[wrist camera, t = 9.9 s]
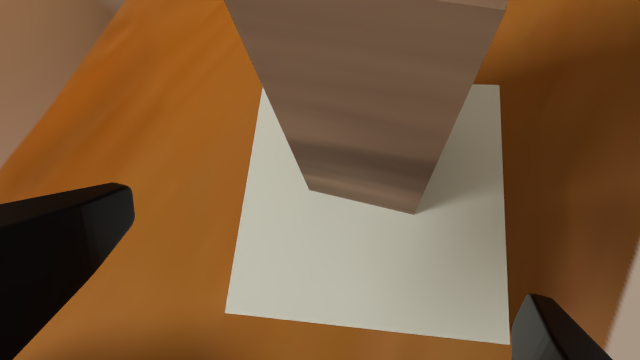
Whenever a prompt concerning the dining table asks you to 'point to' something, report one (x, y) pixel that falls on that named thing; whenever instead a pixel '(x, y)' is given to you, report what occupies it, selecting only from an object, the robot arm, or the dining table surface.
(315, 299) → the sage base
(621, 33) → the dining table surface
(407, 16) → the walnut block
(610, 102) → the dining table surface
